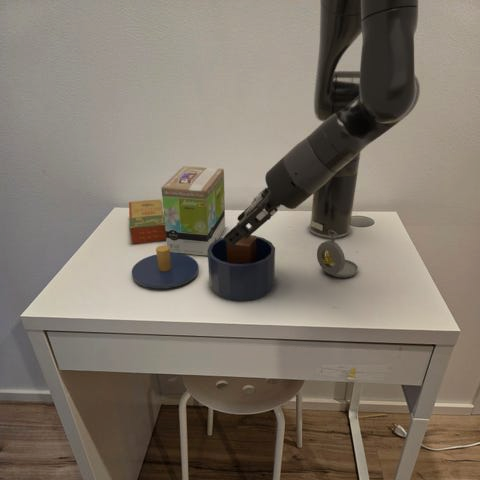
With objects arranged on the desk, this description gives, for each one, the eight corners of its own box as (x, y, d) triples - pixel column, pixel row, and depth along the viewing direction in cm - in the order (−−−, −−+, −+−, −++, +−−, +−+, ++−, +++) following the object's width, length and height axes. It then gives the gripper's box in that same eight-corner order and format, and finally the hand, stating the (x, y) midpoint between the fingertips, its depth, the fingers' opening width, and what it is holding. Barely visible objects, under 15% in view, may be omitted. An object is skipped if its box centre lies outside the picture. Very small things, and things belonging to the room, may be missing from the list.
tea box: (210, 257, 94) (206, 190, 85) (166, 253, 96) (158, 187, 87) (226, 228, 106) (224, 166, 97) (187, 225, 108) (181, 164, 99)
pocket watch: (359, 265, 90) (366, 220, 84) (353, 286, 84) (361, 238, 78) (319, 260, 92) (324, 215, 86) (311, 279, 86) (316, 232, 80)
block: (234, 274, 87) (233, 233, 82) (256, 277, 86) (256, 235, 81) (228, 285, 84) (226, 243, 78) (250, 288, 83) (250, 246, 77)
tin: (216, 266, 91) (214, 233, 86) (276, 269, 89) (277, 236, 85) (204, 299, 81) (201, 263, 77) (270, 303, 79) (271, 267, 75)
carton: (163, 214, 114) (161, 198, 111) (168, 241, 101) (166, 223, 98) (130, 217, 112) (128, 201, 110) (131, 244, 100) (128, 227, 97)
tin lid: (144, 256, 95) (140, 232, 92) (204, 259, 93) (203, 235, 90) (122, 288, 84) (117, 262, 81) (190, 293, 83) (187, 267, 79)
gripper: (293, 142, 74) (231, 201, 84) (275, 169, 63) (206, 233, 73) (322, 176, 76) (257, 230, 86) (309, 207, 65) (237, 265, 75)
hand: (234, 231), depth 79 cm, fingers open, 8 cm apart
